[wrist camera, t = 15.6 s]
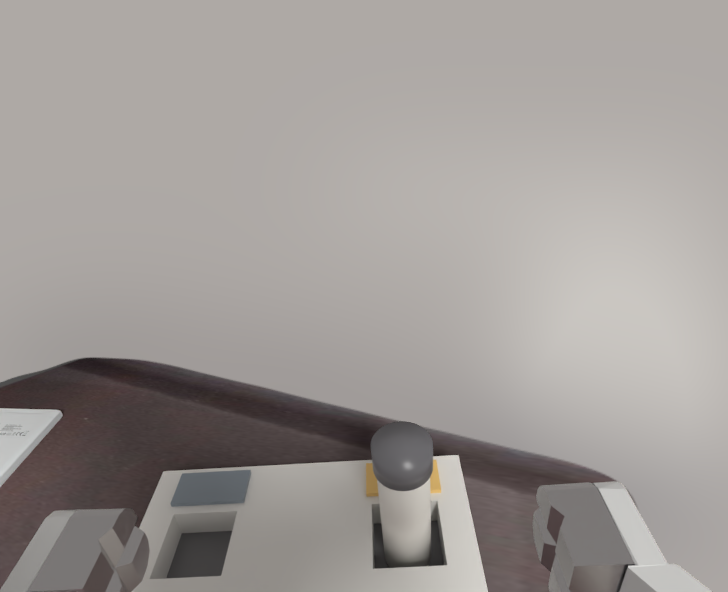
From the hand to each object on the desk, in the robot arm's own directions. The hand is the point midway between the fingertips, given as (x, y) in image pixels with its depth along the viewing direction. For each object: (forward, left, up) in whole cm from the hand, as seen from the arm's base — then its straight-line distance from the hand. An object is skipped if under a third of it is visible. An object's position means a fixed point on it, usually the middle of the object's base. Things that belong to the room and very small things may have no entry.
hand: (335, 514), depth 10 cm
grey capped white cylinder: (+2, +16, -27) cm, 32 cm away
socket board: (-6, +17, -28) cm, 33 cm away
